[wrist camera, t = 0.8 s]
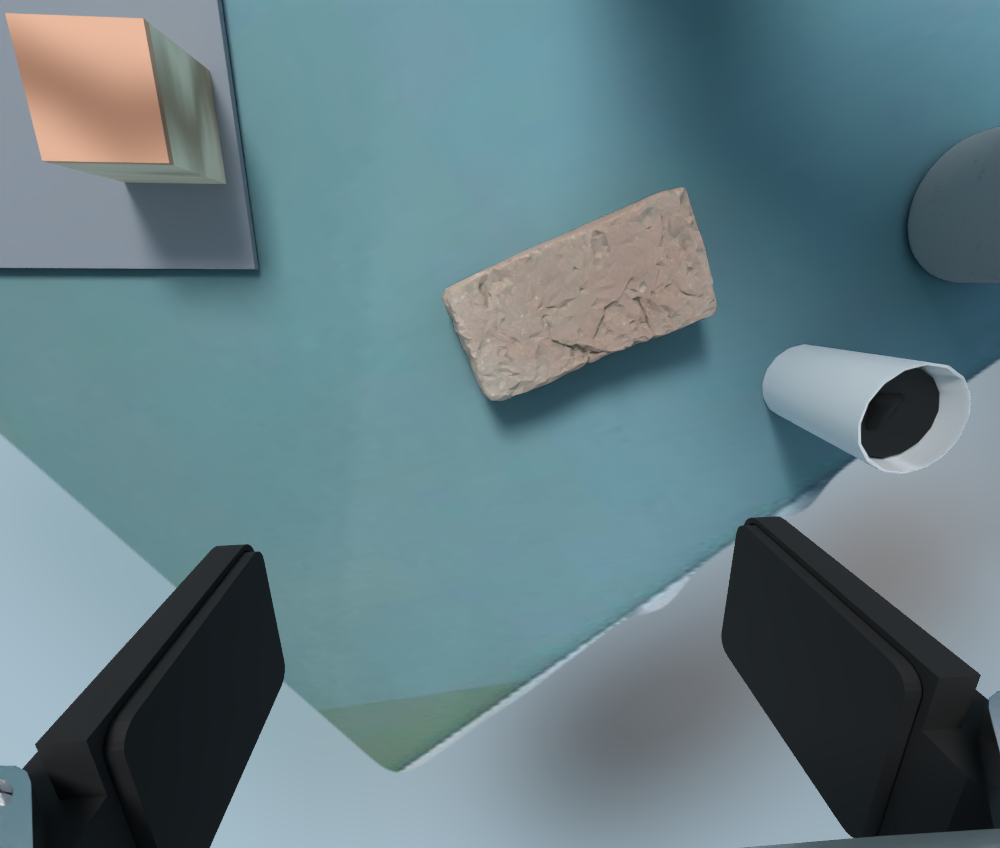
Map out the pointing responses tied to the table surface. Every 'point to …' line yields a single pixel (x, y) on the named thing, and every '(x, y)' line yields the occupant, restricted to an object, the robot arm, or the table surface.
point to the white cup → (871, 404)
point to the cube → (117, 99)
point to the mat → (114, 204)
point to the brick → (584, 295)
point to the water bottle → (960, 213)
